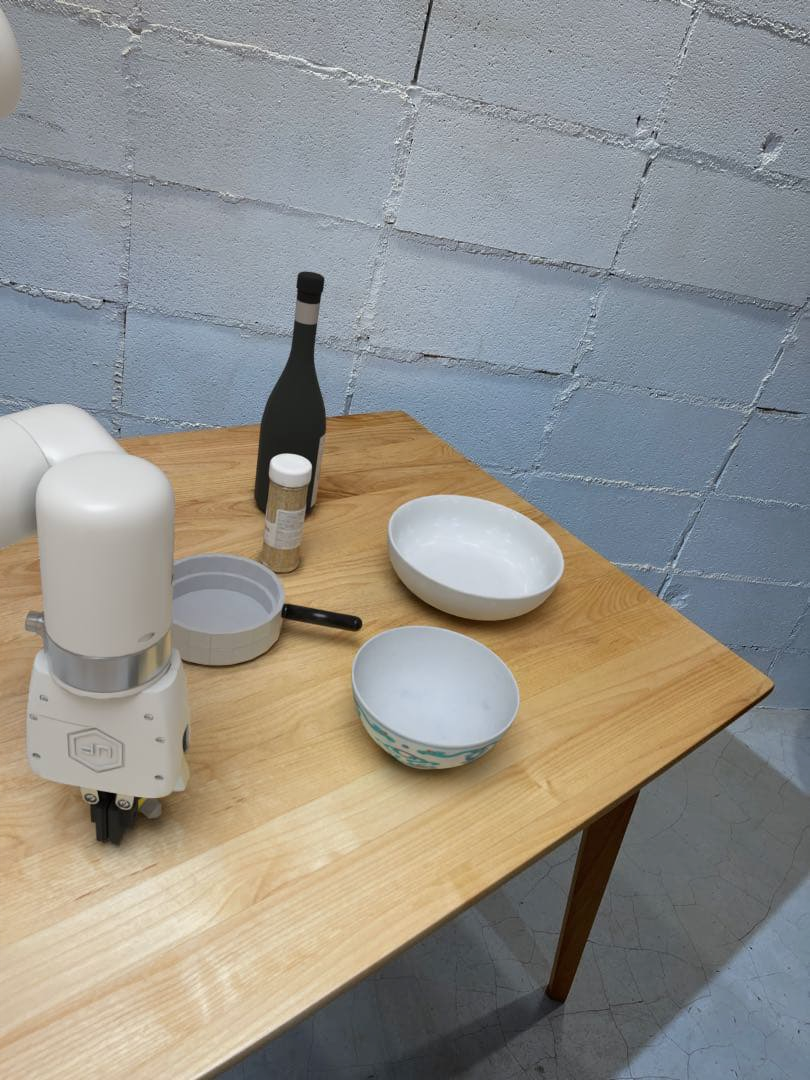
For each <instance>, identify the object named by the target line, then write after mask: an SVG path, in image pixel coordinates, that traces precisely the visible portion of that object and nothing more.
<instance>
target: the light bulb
mask: <svg viewBox="0 0 810 1080" xmlns="http://www.w3.org/2000/svg"><path fill="white" fill-rule="evenodd" d="M138 812H139V813H141V814H142V815H144V816H145V818H146V817H147V818H148V820H151V819H156V818H159V817H160V816H161V815H162V813H163V811H162V802H159V801H158V800H157V799H156V798H141V799H139V800H138Z"/></svg>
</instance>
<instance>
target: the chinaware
mask: <svg viewBox="0 0 810 1080" xmlns="http://www.w3.org/2000/svg"><path fill="white" fill-rule="evenodd" d="M350 679H351V682H350V683H351V692H352V698H353V702H354V705H355V708H356V712H357V714H358V717H359V719H360V721H361V723H362V725H363V727H364V729H365V730H366V732H367V733H368V735H369V736H370V737H371V738H372V740H373V741H374V742H375V743H376V744H377V745H378V746H379V747H380V748H381V749H383V750H384V751H385V752H386V753H388V755H391V756H392V757H393V758H395V759H396V760H397V761H398V762H400V763H402V764H403V765H405V766H407V767H410V768H414V769H418V770H437V769H439V770H440V769H442V770H443V769H450V768H457V767H459V766H463V765H465V764H468V763H470V762H473V761H474V760H477V759H478V758H480V757H482V756H484V755H485V754H486V753H487V752H488V751H490V750H491V749H492V748H494V747H495V745H496V744H498V742H500V741H501V739H502V738H503V737H504V736H505V735H506V733H507V732H508V731H509V730H510V728H511V726H512V725H513V723H514V721H515V720H516V718H517V715H518V713H519V709H520V703H521V696H520V689H519V686H518V683H517V680H516V678H515V676H514V674H513V672H512V670H511V669H510V668H509V667H508V665H507V664H506V663H505V662H504V661H503V660H502V659H501V657H499V656H498V655H497V654H496V653H495V652H493V651H492V650H491V649H490V648H489V647H487V646H486V645H484V644H482V643H481V642H480V641H477V640H475V639H474V638H471V637H470V636H467V635H464V634H462V633H460V632H457V631H454V630H450V629H446V628H442V627H437V626H429V625H406V626H405V625H403V626H399V627H394V628H390V629H387V630H384V631H382V632H379V633H377V634H376V635H374V636H372V637H370V638H369V639H368V640H367V641H365V642H364V643H363V644H362V645H361V646H360V647H359V649H358V651H357V652H356V654H355V656H354V657H353V661H352V664H351V671H350Z"/></svg>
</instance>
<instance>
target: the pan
mask: <svg viewBox="0 0 810 1080" xmlns="http://www.w3.org/2000/svg"><path fill="white" fill-rule="evenodd" d="M284 587H285V586H284V584H283V582H282V581H281V579H280V578H279V577H278V576H277V574H276V572H275V571H271V570H270V569H268V568H267V567H265V566H264V565H263V564H262V563H261V562H258V561H256V560H253V559H250V558H248V557H246V556H241V555H237V554H236V555H235V554H230V553H223V552H221V553H220V552H217V553H216V552H204V553H198V554H193V555H188V556H184V557H182V558H179V559H177V560H174V572H173V610H172V647H173V648H175V649H177V650H178V651H179V654H180V657H181V660H183V661H185V662H189V663H193V664H198V665H204V666H215V667H216V666H231V665H236V664H239V663H243V662H247V661H251V660H253V659H255V658H257V657H260V655H262V654H264V653H266V652H268V651H269V650H270V649H271V648H272V647H273V645H275V643H276V642H277V641H278V640H279V637H280V635H281V631H282V628H283V621H284V619H283V618H282V617H281V615H282V609H283V605H284V604H286V592H285V591H286V590H285V588H284Z"/></svg>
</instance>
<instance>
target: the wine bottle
mask: <svg viewBox="0 0 810 1080" xmlns="http://www.w3.org/2000/svg"><path fill="white" fill-rule="evenodd" d="M324 287H325V277H324V275H322V274H320V273H318V272H314V271H308V270H307V271H300V272H298V274H297V277H296V287H295V288H296V299H295V301H296V302H295V311H294V320H293V329H292V339H291V340H292V341H291V346H290V352H289V356H288V359H287V361H286V363H285V366H284V367H283V370H282V372H281V374H280V376H279V377H278V379H277V381H276V383H275V385H274V386H273V388H272V390H271V392H270V394H269V396H268V398H267V401H266V404H265V406H264V409H263V413H262V417H261V420H260V424H259V425H260V427H259V437H258V446H257V448H258V449H257V459H256V469H255V480H254V491H253V497H254V501H255V504H256V506H257V507H258V508H259V509H260V510H262V511H263V512H264V513H266V508H267V502H268V493H269V485H270V477H269V468H270V461H271V459H272V458H273V457H275V456H277V455H280V454H295V455H299V456H302V457H304V458H306V459H307V460H309V461H310V463H311V465H312V473H311V480H310V482H309V485H308V491H307V498H306V511H305V516H306V515H308V514H310V513H311V512H312V510H313V509H314V508H315V507H316V503H317V498H318V497H317V496H318V489H319V482H320V475H321V468H322V461H323V455H324V446H325V441H326V434H327V433H326V432H327V415H326V414H327V413H326V406H325V402H324V398H323V394H322V391H321V387H320V383H319V380H318V379H319V378H318V375H317V370H316V363H315V348H316V347H315V346H316V338H317V329H318V324H319V323H318V322H319V315H320V307H321V299H322V295H323V294H322V293H324Z"/></svg>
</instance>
